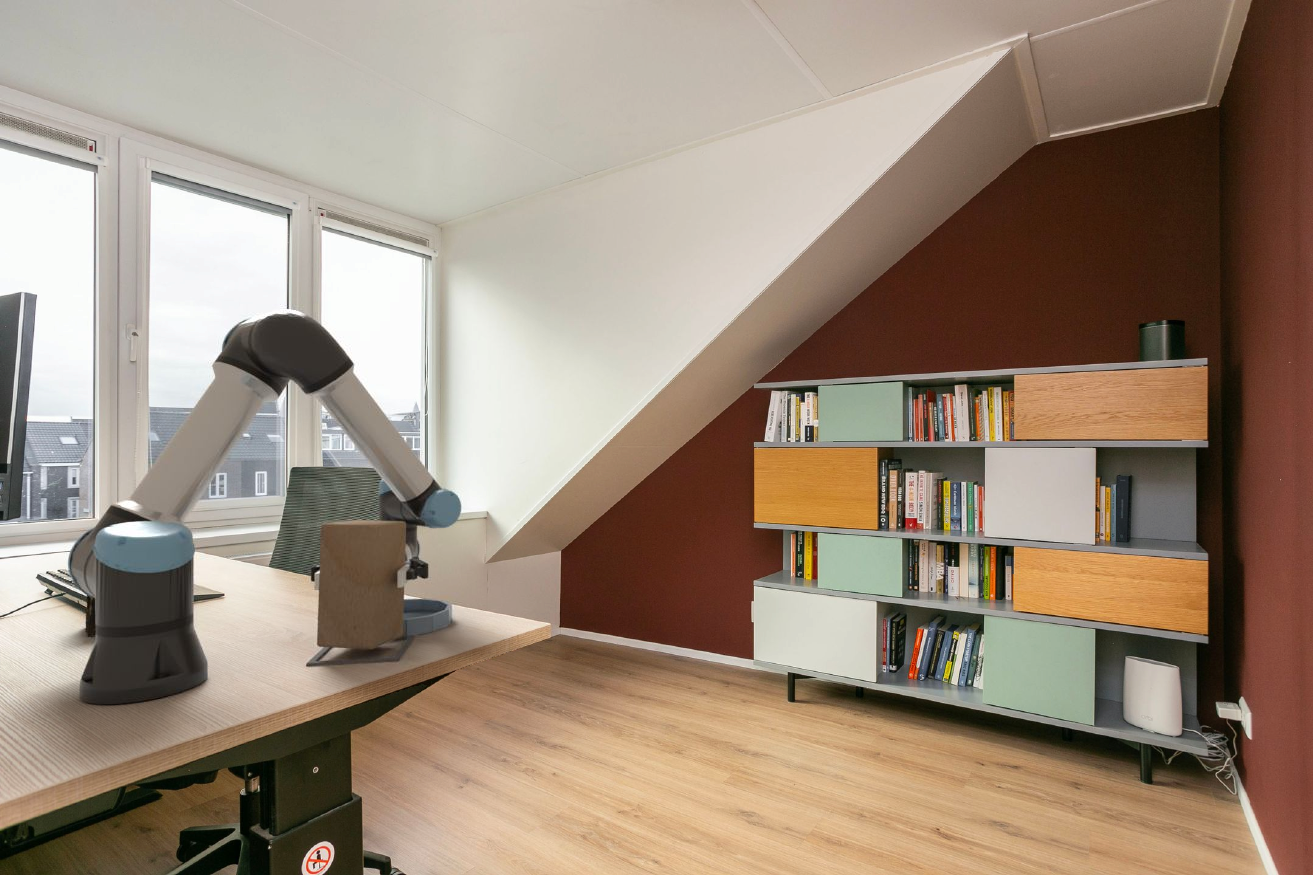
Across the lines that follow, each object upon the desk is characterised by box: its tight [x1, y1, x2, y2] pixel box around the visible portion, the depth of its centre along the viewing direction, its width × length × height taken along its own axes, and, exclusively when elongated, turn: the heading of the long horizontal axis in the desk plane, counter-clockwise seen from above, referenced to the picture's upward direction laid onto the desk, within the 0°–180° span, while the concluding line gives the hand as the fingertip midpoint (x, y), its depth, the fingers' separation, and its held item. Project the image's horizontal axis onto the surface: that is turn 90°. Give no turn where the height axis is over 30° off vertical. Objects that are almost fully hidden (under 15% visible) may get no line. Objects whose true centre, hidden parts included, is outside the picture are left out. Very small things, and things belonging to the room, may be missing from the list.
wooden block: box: [316, 519, 406, 650], centre depth 120 cm, size 10×10×20 cm
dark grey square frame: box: [305, 635, 416, 667], centre depth 121 cm, size 14×14×1 cm
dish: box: [402, 598, 453, 636], centre depth 138 cm, size 18×18×3 cm
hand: (358, 580), depth 117 cm, fingers closed on wooden block, 12 cm apart
